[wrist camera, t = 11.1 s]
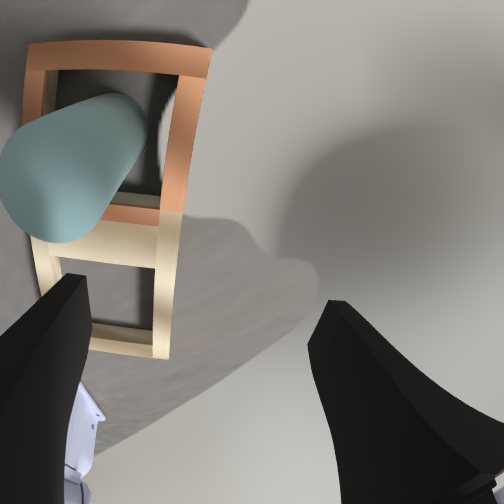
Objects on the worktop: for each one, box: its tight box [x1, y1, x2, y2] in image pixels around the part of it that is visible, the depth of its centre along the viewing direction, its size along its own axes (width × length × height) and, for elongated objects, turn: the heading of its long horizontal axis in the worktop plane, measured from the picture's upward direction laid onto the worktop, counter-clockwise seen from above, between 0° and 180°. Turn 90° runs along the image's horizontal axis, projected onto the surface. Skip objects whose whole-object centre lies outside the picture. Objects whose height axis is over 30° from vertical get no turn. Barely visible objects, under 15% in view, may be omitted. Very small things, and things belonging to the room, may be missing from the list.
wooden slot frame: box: [22, 40, 213, 360], centre depth 17 cm, size 21×10×2 cm, turn 167°
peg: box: [0, 93, 149, 243], centre depth 12 cm, size 4×4×8 cm
